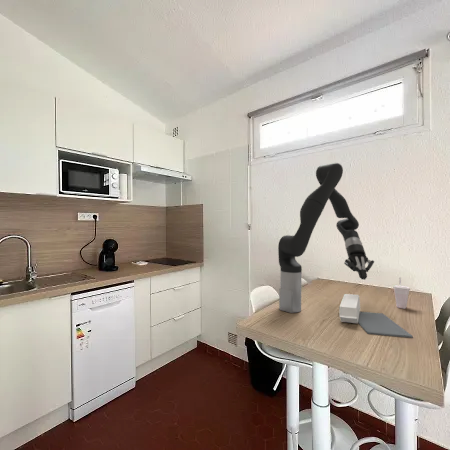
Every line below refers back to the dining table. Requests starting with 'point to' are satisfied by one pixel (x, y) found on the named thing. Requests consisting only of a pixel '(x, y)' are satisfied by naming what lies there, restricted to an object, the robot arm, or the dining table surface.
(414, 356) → the dining table surface
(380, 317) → the mat
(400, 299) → the smoothie
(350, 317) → the milk
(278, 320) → the dining table surface
